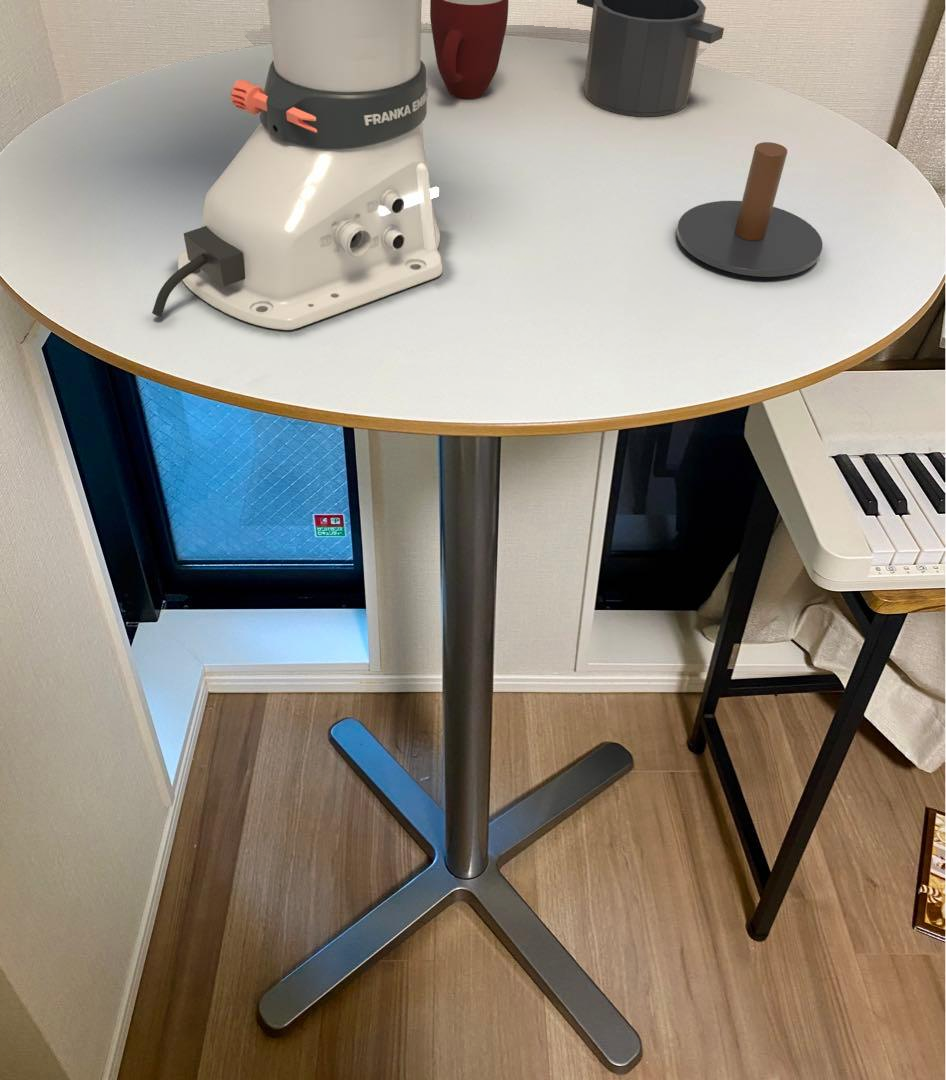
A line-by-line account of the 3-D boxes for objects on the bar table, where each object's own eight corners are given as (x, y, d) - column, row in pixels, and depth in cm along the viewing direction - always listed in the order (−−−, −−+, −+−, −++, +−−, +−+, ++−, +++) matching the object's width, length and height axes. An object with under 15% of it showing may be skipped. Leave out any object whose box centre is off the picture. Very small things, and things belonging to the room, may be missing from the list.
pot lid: (775, 300, 80) (804, 198, 74) (648, 246, 86) (665, 147, 80) (843, 245, 87) (875, 149, 81) (721, 199, 93) (743, 105, 87)
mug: (492, 119, 104) (497, 16, 96) (416, 111, 104) (416, 8, 97) (508, 82, 111) (514, -16, 104) (438, 74, 112) (439, -24, 105)
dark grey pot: (671, 133, 103) (689, 36, 96) (544, 88, 110) (552, -5, 103) (728, 103, 109) (748, 10, 102) (604, 62, 116) (615, -28, 110)
